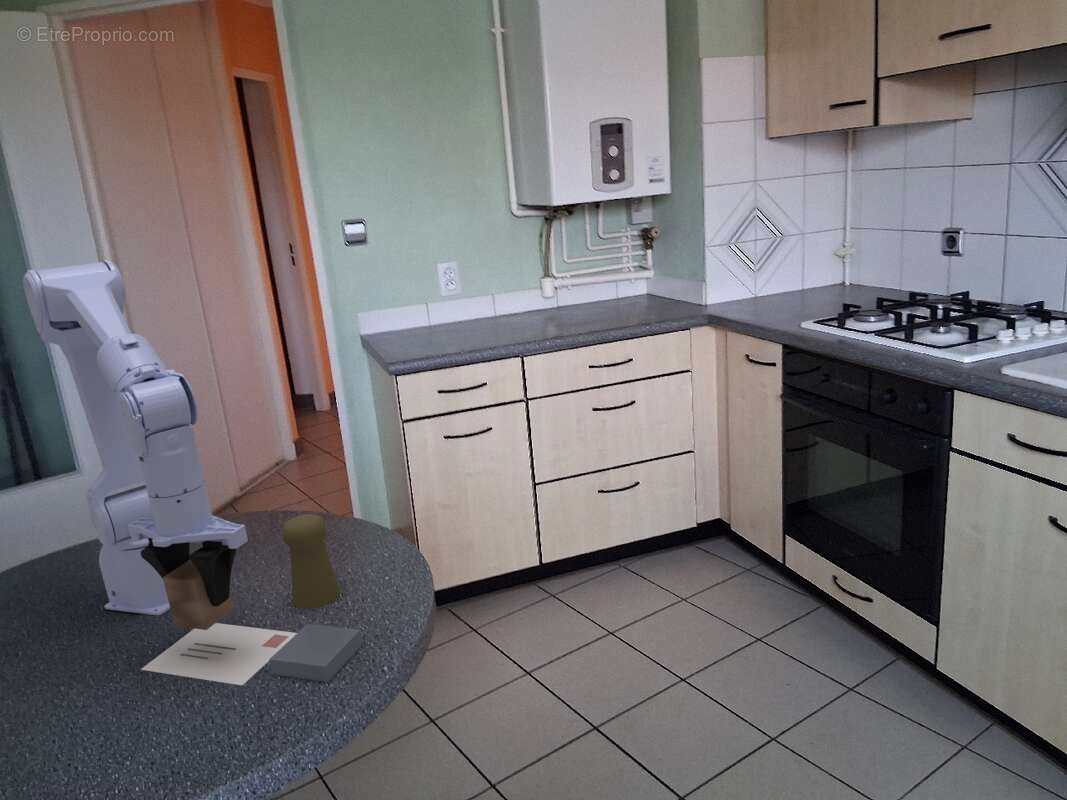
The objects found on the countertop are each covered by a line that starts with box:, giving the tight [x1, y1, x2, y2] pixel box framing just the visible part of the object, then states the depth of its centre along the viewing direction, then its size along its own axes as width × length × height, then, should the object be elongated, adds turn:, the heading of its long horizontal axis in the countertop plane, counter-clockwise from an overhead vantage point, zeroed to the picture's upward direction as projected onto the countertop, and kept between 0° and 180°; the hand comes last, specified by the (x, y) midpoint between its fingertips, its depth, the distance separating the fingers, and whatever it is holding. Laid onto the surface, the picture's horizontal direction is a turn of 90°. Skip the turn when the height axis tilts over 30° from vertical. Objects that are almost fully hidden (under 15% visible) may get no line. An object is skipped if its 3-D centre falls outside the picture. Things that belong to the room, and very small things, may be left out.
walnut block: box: [163, 560, 235, 630], centre depth 89 cm, size 4×4×6 cm
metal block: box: [269, 623, 364, 683], centre depth 87 cm, size 7×7×2 cm
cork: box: [282, 513, 341, 610], centre depth 100 cm, size 6×6×11 cm
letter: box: [140, 622, 298, 686], centre depth 91 cm, size 14×10×1 cm
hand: (202, 599), depth 90 cm, fingers closed on walnut block, 4 cm apart
